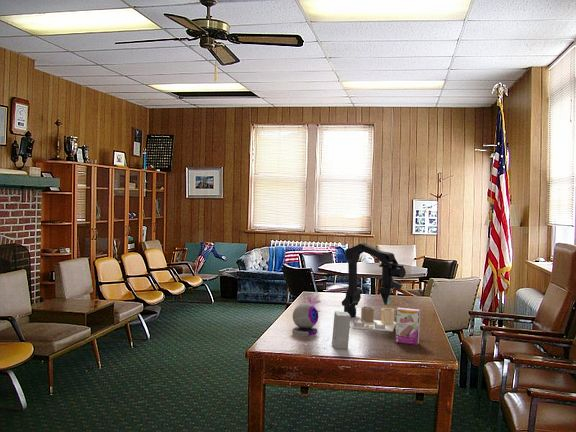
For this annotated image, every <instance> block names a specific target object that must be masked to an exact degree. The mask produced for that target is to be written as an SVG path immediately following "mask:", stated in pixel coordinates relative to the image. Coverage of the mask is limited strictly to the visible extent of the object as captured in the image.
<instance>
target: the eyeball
mask: <svg viewBox="0 0 576 432" xmlns="http://www.w3.org/2000/svg"><path fill="white" fill-rule="evenodd" d="M292 320H293V323H294V324H295V327H293V328H292V331H291V332H292V334H294V335H296V336H297V335H298V336H304V337H305V336H306V337H307V336H314V335H316V334H317V333H318V328H315V327H314V326H315V325H317V323H318V321H319V312H318V310H317V308H316V307H315V305H314V306H313V305H311V304H308V303H303V304H301V303H300V304H299V305H296V307H295V308H294V310H293V312H292Z"/></svg>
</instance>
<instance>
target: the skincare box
mask: <svg viewBox="0 0 576 432" xmlns="http://www.w3.org/2000/svg"><path fill="white" fill-rule="evenodd" d="M333 317H334V318H333V325H332V327H333V328H332V338H331V345H332V347H333V349H336V350H337V349H338V350H348V349H349V342H350V341H349V340H350V339H349V337H350V330H351V329H350V328H351V318H352V317H351V316H350V315H349V314H348V312H344V311H334V314H333Z"/></svg>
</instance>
